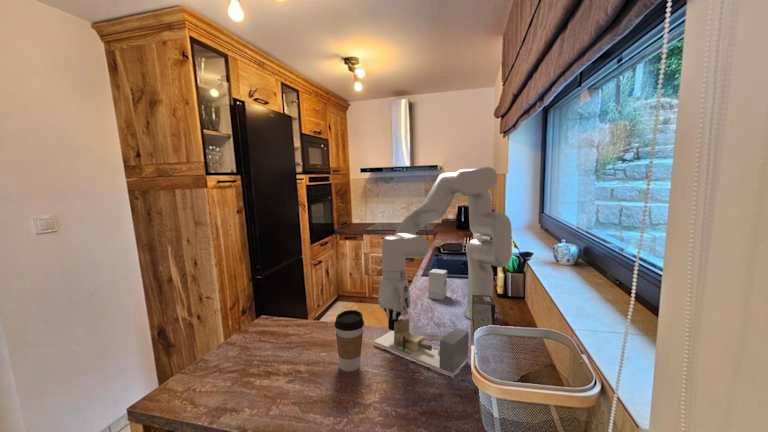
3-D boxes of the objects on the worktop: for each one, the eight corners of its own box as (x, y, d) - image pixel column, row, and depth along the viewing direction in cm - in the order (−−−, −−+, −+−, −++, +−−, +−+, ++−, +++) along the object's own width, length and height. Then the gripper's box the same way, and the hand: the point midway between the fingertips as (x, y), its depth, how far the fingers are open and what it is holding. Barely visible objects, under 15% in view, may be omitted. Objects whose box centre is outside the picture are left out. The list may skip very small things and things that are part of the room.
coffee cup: (368, 360, 90) (368, 311, 89) (357, 376, 82) (356, 323, 81) (343, 355, 93) (342, 308, 92) (329, 370, 85) (328, 319, 84)
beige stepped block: (391, 346, 95) (391, 324, 94) (404, 337, 101) (405, 316, 100) (423, 359, 88) (423, 335, 87) (435, 349, 94) (436, 326, 93)
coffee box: (494, 356, 93) (496, 304, 92) (472, 353, 94) (473, 303, 93) (490, 341, 102) (491, 294, 100) (470, 339, 103) (471, 293, 102)
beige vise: (373, 345, 99) (373, 317, 98) (392, 334, 107) (392, 308, 106) (452, 378, 82) (453, 344, 81) (467, 362, 89) (468, 331, 89)
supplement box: (443, 300, 140) (443, 273, 139) (427, 298, 143) (428, 271, 142) (447, 295, 147) (447, 270, 146) (432, 293, 150) (432, 268, 149)
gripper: (419, 275, 97) (418, 331, 98) (382, 268, 106) (382, 319, 107) (406, 281, 91) (405, 340, 92) (368, 272, 100) (368, 326, 102)
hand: (393, 328), depth 100 cm, fingers closed
